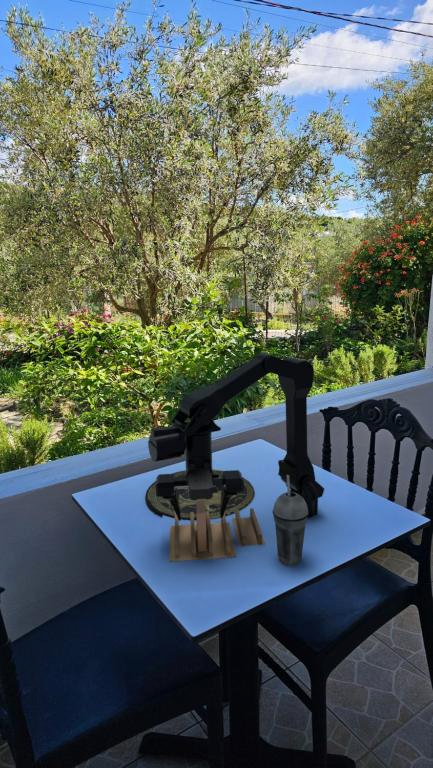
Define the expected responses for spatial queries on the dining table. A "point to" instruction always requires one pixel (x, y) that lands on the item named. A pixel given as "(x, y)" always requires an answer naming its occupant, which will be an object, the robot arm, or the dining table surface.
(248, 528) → the holder
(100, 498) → the dining table surface
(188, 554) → the rack
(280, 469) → the robot arm
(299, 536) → the beverage cup
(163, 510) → the decorative plate
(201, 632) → the dining table surface
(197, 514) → the wooden block
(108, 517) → the dining table surface
